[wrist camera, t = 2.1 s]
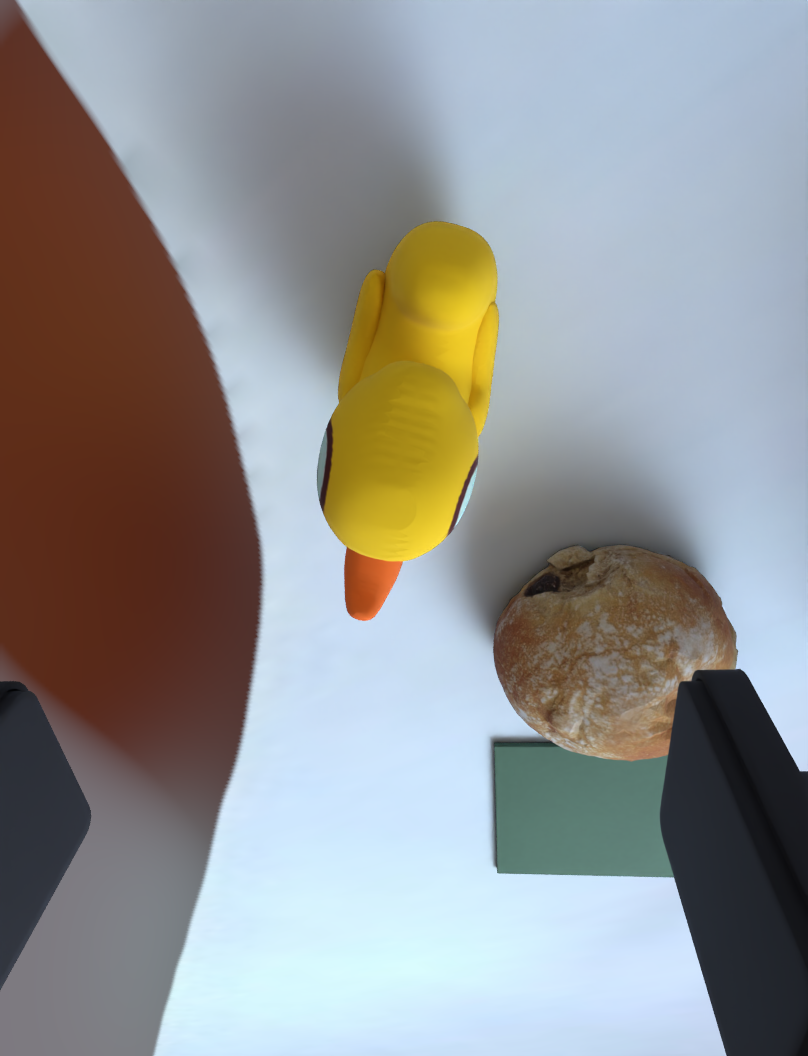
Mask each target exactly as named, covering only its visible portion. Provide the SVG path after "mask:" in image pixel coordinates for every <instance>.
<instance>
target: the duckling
mask: <svg viewBox="0 0 808 1056" xmlns="http://www.w3.org/2000/svg"><path fill="white" fill-rule="evenodd" d="M496 292H497V268H496V262H495V258H494V255H493V252H492V250H491V248H490V246H489V244H488V243H487V242H486V240H485V239H484V238H483V237H482V236H481V235H479V234H478V233H477V232H475V231H473V230H471V229H469V228H466V227H463V226H460V225H457V224H452V223H447V222H438V221H434V222H427V223H424V224H421V225H419V226H417V227H415V228H414V229H412V230H411V231H410V232H409V233H408V234H407V235H406V236H405V237H404V238H403V239H402V240H401V241H400V243H399V244H398V245H397V247H396V248H395V250H394V252H393V254H392V256H391V258H390V260H389V263H388V265H387V268H386V271H385V273H384V272H382V271H380V270H372V271H370V272H369V273H368V275H367V276H366V278H365V280H364V282H363V284H362V287H361V290H360V293H359V297H358V301H357V305H356V310H355V314H354V319H353V323H352V327H351V331H350V335H349V339H348V344H347V348H346V352H345V356H344V359H343V363H342V367H341V372H340V377H339V386H338V399H339V404H338V406H337V407H336V409H335V411H334V413H333V414H332V416H331V419H330V421H329V423H328V426H327V428H326V431H325V434H324V437H323V441H322V445H321V449H320V454H319V460H318V468H317V489H318V496H319V501H320V505H321V508H322V511H323V514H324V516H325V519H326V521H327V523H328V525H329V526H330V528H331V529H332V531H333V532H334V534H335V535H336V536H337V538H338V539H339V540H340V541H341V542H342V543H343V544H344V545H345V546H347V549H346V556H345V565H344V579H345V602H346V608H347V611H348V613H349V614H350V615H351V616H352V617H353V618H355V619H358V620H363V621H366V620H370V619H372V618H373V617H375V615H376V614H377V613H378V611H379V610H380V608H381V607H382V605H383V603H384V601H385V599H386V598H387V596H388V594H389V592H390V590H391V588H392V587H393V585H394V583H395V581H396V579H397V576H398V574H399V571H400V568H401V566H402V563H403V561H407V560H411V559H414V558H417V557H419V556H421V555H423V554H425V553H427V552H429V551H430V550H432V549H433V548H435V547H436V546H437V545H439V544H440V543H441V542H442V541H443V540H444V539H445V538H446V537H447V536H448V535H449V534H450V533H451V532H452V530H453V529H454V528H455V526H456V525H457V523H458V522H459V520H460V518H461V517H462V515H463V513H464V511H465V509H466V506H467V504H468V501H469V499H470V496H471V493H472V489H473V486H474V482H475V477H476V472H477V465H478V437H479V435H480V434H481V432H482V430H483V427H484V424H485V421H486V417H487V413H488V408H489V402H490V394H491V384H492V377H493V368H494V360H495V352H496V345H497V337H498V327H499V313H498V308H497V305H496V303H495V299H496Z"/></svg>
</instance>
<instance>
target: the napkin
mask: <svg viewBox="0 0 808 1056" xmlns="http://www.w3.org/2000/svg"><path fill="white" fill-rule="evenodd" d="M494 754H495V796H496V837H497V873H508V874H551V875H594V876H638V877H674V875H673V872H672V869H671V865H670V862H669V858H668V855H667V852H666V848H665V845H664V841H663V838H662V833H661V828H660V805H661V799H662V792H663V785H664V779H665V772H666V765H667V759H668V755H666V756H662V757H658V758H651V759H641V760H635V761H632V762H631V761H628V760H612V759H604V758H599V757H596V756H588V755H584V754H580V753H576V752H572V751H569V750H566V749H564V748H562V747H560V746H558V745H556V744H555V743H494Z"/></svg>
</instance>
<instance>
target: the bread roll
mask: <svg viewBox="0 0 808 1056" xmlns="http://www.w3.org/2000/svg"><path fill="white" fill-rule="evenodd" d="M547 562H548V563H549V565H548V567H547V568H546V569H544V570H542V571H540V572H539V573H538V574H537V575H536V576H534V577H533V578H532V579H531V580H530V581H529V582H528V583H527V584H526V585H525V586H523V587H522V589H521V591H520V592H519V594H517V595H516V596H514V597H513V598H512V599H511V600H510V602H509V604H508V605H507V607H506V608H505V609H504V610H503V612H502V614H501V615H500V617H499V619H498V621H497V624H496V629H495V635H494V647H493V653H494V662H495V667H496V671H497V675H498V678H499V680H500V682H501V685H502V687H503V689H504V692H505V694H506V696H507V698H508V700H509V702H510V703H511V705H512V707H513V708H514V710H515V711H516V713H517V714H518V715H519V716H520V717H521V718H522V719H523V720H524V721H525V722H526V723H527V724H528V725H529V726H530V727H531V728H533V729H534V730H536V731H537V732H538V733H539V734H541V735H542V736H543V737H544V738H546V739H548V740H550V741H552V742H553V743H555V744H556V745H558V746H560V747H562V748H564V749H566V750H569V751H572V752H576V753H580V754H584V755H588V756H596V757H599V758H604V759H612V760H628V761H631V762H632V761H635V760H641V759H651V758H658V757H662V756H666V755H668V752H669V745H670V739H671V732H672V725H673V719H674V712H675V705H676V699H677V692H678V687H679V683H680V682H681V681H691V680H692V676H693V673H694V672H695V670H723V669H735V668H736V662H737V655H738V650H737V649H736V632H735V630H734V628H733V626H732V625H731V623H730V621H729V619H728V618H727V616H726V614H725V612H724V610H723V608H722V601H721V598H720V597H719V596H718V594H717V593H716V591H715V590H714V588H713V587H712V586H711V585H710V583H709V582H708V581H707V580H706V578H705V577H704V576H703V575H701V574H700V573H699V572H698V570H697V569H696V568H694V567H690V566H688V565H686V564H684V563H683V562H680V561H678V560H675V559H673V558H672V557H671V556H669V555H662V554H658V553H654V552H651V551H649V550H646V549H642V548H638V547H633V546H626V545H613V546H605V547H601V548H598V549H596V550H593V551H587V550H586V549H585V548H584V547H582V546H579V545H576V546H572V547H569V548H566V549H563V550H559V551H558V552H557V553H555V554H554V555H553V556H552V557H550V558H549V559H548V560H547Z"/></svg>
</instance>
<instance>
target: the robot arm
mask: <svg viewBox="0 0 808 1056" xmlns="http://www.w3.org/2000/svg"><path fill="white" fill-rule="evenodd" d="M90 821H91V810H90V807H89V805H88V803H87V800H86V799H85V796H84V794H83V792H82V790H81V788H80V786H79V784H78V782H77V780H76V778H75V776H74V773H73V771H72V769H71V767H70V765H69V763H68V761H67V759H66V757H65V755H64V753H63V751H62V749H61V747H60V744H59V742H58V741H57V738H56V736H55V734H54V732H53V730H52V728H51V726H50V724H49V722H48V720H47V718H46V715H45V713H44V711H43V709H42V707H41V705H40V703H39V701H38V699H37V697H36V696H35V694H34V693H32V692H31V691H28V689H27V688H26V686H25V685H24V684H22V683H20V682H16V681H15V682H14V681H9V682H8V681H4V682H0V990H1V988H2V986H3V984H4V982H5V981H6V979H7V977H8V975H9V973H10V972H11V970H12V968H13V966H14V964H15V963H16V961H17V959H18V957H19V955H20V954H21V952H22V950H23V948H24V946H25V944H26V942H27V941H28V939H29V937H30V935H31V934H32V932H33V930H34V928H35V926H36V925H37V923H38V921H39V919H40V917H41V915H42V913H43V912H44V910H45V908H46V906H47V905H48V903H49V901H50V899H51V897H52V896H53V894H54V892H55V890H56V888H57V886H58V885H59V883H60V881H61V879H62V877H63V876H64V873H65V872H66V870H67V868H68V867H69V865H70V863H71V861H72V859H73V857H74V856H75V854H76V852H77V850H78V848H79V847H80V845H81V843H82V841H83V839H84V838H85V835H86V834H87V831H88V829H89V826H90ZM660 828H661V833H662V838H663V841H664V845H665V848H666V852H667V855H668V858H669V862H670V865H671V869H672V872H673V875H674V879H675V882H676V886H677V889H678V892H679V896H680V899H681V902H682V906H683V909H684V913H685V916H686V919H687V923H688V926H689V930H690V933H691V936H692V940H693V943H694V947H695V950H696V953H697V957H698V960H699V963H700V967H701V970H702V974H703V977H704V980H705V984H706V987H707V991H708V994H709V997H710V1001H711V1004H712V1008H713V1011H714V1014H715V1018H716V1021H717V1024H718V1028H719V1031H720V1035H721V1038H722V1041H723V1045H724V1048H725V1052H726V1055H727V1056H808V771H799V769H798V767H797V765H796V763H795V762H794V760H793V758H792V756H791V754H790V753H789V751H788V749H787V747H786V745H785V743H784V742H783V740H782V738H781V736H780V734H779V733H778V731H777V729H776V727H775V725H774V723H773V722H772V720H771V718H770V716H769V714H768V713H767V711H766V709H765V707H764V705H763V703H762V702H761V700H760V698H759V696H758V694H757V693H756V691H755V689H754V687H753V685H752V683H751V682H750V680H749V678H748V676H747V675H746V674H745V672H744V671H742V670H741V669H723V670H695V672H694V673H693V676H692V680H691V681H681V682H680V683H679V687H678V692H677V699H676V705H675V712H674V719H673V725H672V732H671V739H670V745H669V752H668V759H667V765H666V772H665V779H664V785H663V792H662V799H661V805H660Z"/></svg>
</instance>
